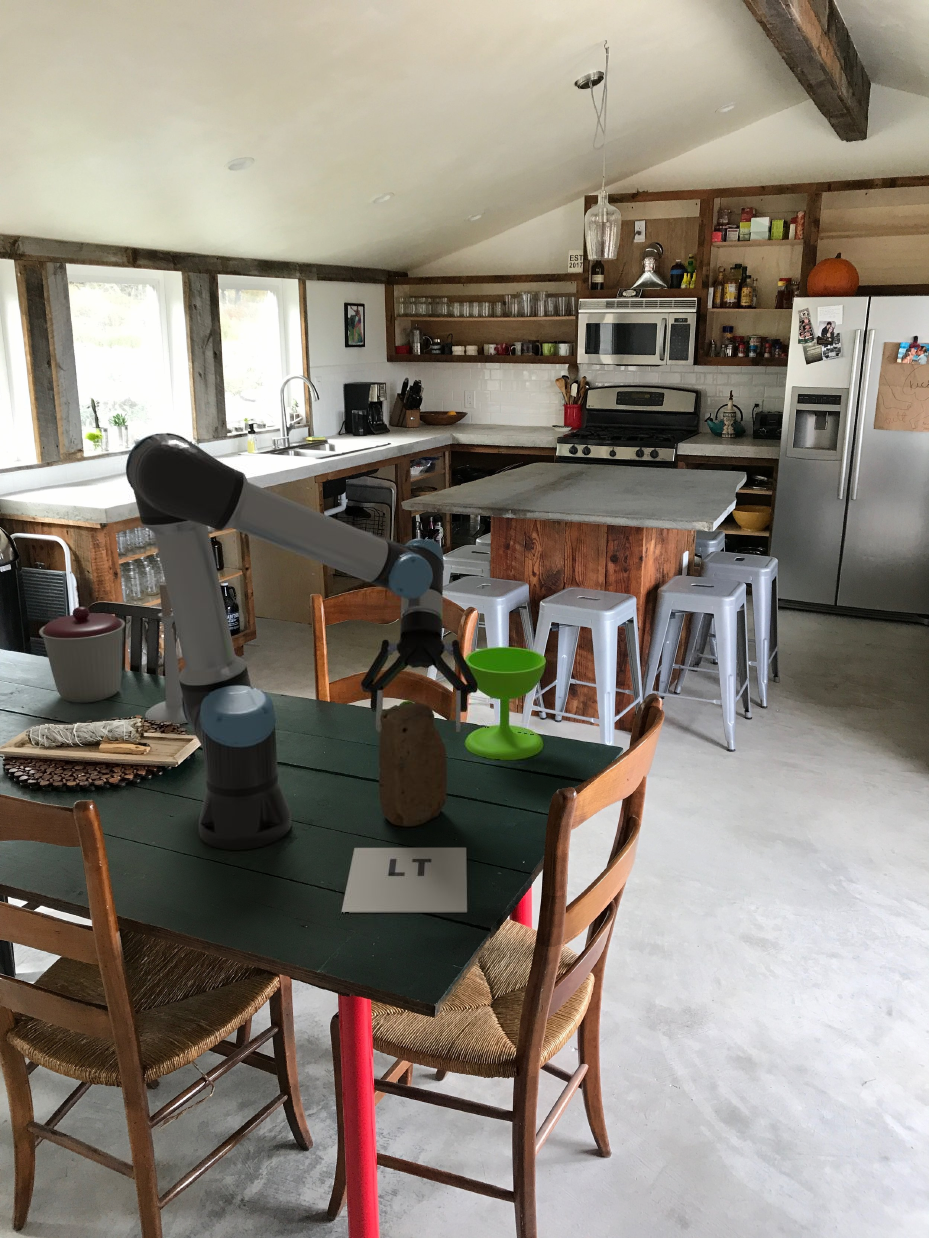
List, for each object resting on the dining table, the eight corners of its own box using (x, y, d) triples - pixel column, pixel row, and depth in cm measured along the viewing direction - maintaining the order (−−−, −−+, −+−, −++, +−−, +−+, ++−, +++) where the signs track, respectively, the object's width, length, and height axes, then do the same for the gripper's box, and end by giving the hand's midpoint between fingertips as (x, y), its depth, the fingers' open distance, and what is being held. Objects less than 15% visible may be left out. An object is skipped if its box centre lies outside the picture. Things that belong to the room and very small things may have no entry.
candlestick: (133, 723, 208) (119, 587, 199) (164, 702, 220) (152, 572, 211) (188, 728, 205) (176, 590, 197) (216, 706, 217) (206, 575, 208)
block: (396, 833, 162) (393, 721, 156) (376, 814, 168) (373, 706, 162) (452, 817, 167) (451, 708, 162) (431, 800, 173) (430, 695, 168)
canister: (140, 680, 233) (132, 596, 227) (119, 708, 216) (109, 617, 210) (63, 682, 232) (52, 597, 226) (36, 710, 214) (23, 619, 209)
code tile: (341, 912, 140) (341, 911, 139) (354, 849, 157) (354, 847, 157) (466, 912, 140) (466, 910, 140) (466, 848, 157) (466, 847, 157)
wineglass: (492, 722, 208) (493, 642, 203) (558, 739, 199) (560, 656, 194) (449, 747, 195) (448, 662, 190) (517, 767, 187) (518, 678, 181)
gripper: (490, 628, 179) (490, 736, 169) (354, 628, 179) (347, 736, 169) (490, 609, 173) (491, 720, 163) (350, 608, 173) (342, 719, 163)
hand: (418, 728), depth 166 cm, fingers open, 13 cm apart
